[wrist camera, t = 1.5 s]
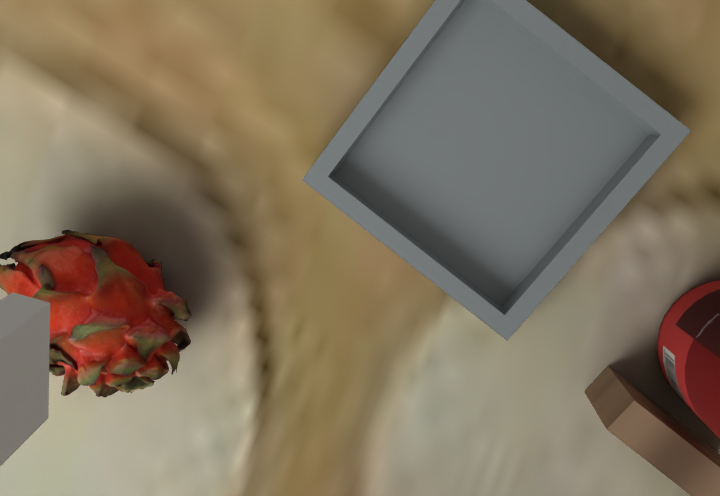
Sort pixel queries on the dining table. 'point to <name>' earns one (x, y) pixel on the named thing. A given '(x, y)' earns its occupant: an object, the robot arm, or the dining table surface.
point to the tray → (493, 154)
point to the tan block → (655, 435)
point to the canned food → (694, 351)
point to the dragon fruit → (100, 310)
